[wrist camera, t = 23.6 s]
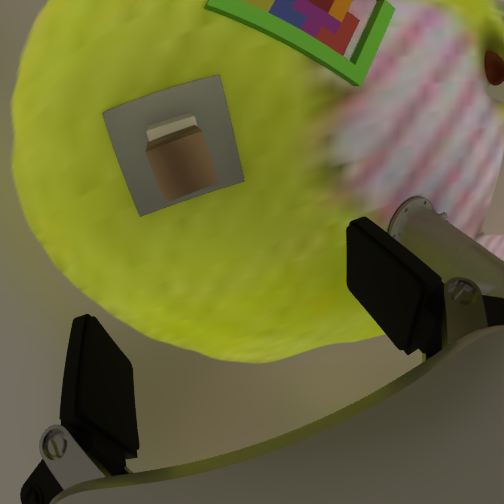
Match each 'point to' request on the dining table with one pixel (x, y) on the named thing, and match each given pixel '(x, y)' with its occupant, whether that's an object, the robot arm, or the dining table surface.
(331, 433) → the robot arm
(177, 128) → the cream brick
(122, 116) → the base plate
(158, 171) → the walnut cube
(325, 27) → the jigsaw puzzle tray
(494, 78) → the goblet
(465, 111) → the dining table surface
